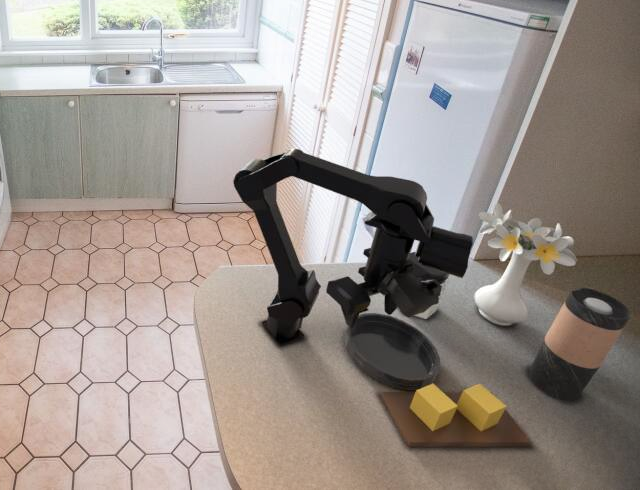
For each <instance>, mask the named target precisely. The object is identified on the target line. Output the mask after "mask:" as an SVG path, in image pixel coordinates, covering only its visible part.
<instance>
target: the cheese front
mask: <svg viewBox="0 0 640 490" xmlns="http://www.w3.org/2000/svg"><path fill="white" fill-rule="evenodd" d="M462 392H463V393H462V395H461V397H460V399H459V401H458V403H457V406H458V407H457V410H458V411H459V412H461V413H462V414H463V415H464V416H465V417H466V418H467V419H468V420H469V421H470V422H471V423H472V424H473V425H475V426H476V427H477V428H478V429H479V430H480V431H483V430H485V429H487V428H489V427H492V426H494V425H496V424H497V423H498V422H499V420H500V418H501V416H502V414H503V412H504V410H507V409H506V408H507V405H506V404H505V403H504V402H502V401H501V400H500V399H499V398H498V397H496V396H495V395H494V394H493V393H492V394H491V393H490V392H491V391H489V390H488V389H487V388H486V387H484V386H483V385H482V384H481V383H478V384H476V385H473V386H471V387H469V388H466V389H464V390H463V391H462Z"/></svg>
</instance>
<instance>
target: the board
mask: <svg viewBox="0 0 640 490" xmlns="http://www.w3.org/2000/svg"><path fill="white" fill-rule="evenodd" d="M442 392H443V393H444V394H445V395H446V396H447V397H449V398H450V399H451V400H452V401H453V402H454V403H455V404H456V405H457V403H458V401H459V399H460V397H461V395H462V393H463V391H442ZM489 392H490V393H491V394H493V393H492V391H489ZM415 393H416V391H391V392H390V391H383V392H381V394H380V400H381V401H382V403H383V404H384V406H385V408H386V410H387V411H388V413H389V415H390V417H391V419H392V421H393V423H394V424H395V426H396V428H397V429H398V431H399V433H400V435H401V437H402V438H403V441H404V442H405V444H406V446H407V447H408V448H409V447H410V448H412V447H413V448H414V447H415V448H416V447H417V448H419V447H420V448H424V447H425V448H426V447H427V448H430V447H432V448H435V447H437V448H442V447H444V448H445V447H448V448H450V447H461V448H463V447H467V448H469V447H470V448H471V447H476V448H478V447H482V448H483V447H486V448H487V447H491V448H492V447H496V448H497V447H506V448H507V447H530V445H531V443H532V441H531V440H530V438H529V437H528V436H527V435H526V433H525V432H524V431H523V429H522V428H521V427H520V426H519V424H517V422H516V421H515V420H514V419H513V417H512V416H511V414H510V413H509V412H508V411H507V409H505V410H504V412H503V414H502V416H501V418H500V420H499V422H498V423H497V424H496V425H494V426H492V427H489V428H487V429H485V430H483V431H480V430H479V429H478V428H477V427H476V426H475V425H473V424H472V423H471V422H470V421H469V420H468V419H467V418H466V417H465V416H464V415H463V414H462V413H461V412H459V411H458V410H457V409H456V411H455V413H454V415H453V418H452V420H451V422H450V424H447V425H445V426H443V427H441V428H439V429H437V430H435V431H432V430H431V429H430V428H429V427H428V426H427V425H426V424H425V423H424V422H423V421H422V420H421V419H420V418H419V417H418V416H417V415H416V414H415V413H414V412H413V411H412V410H411V409H410V405H411V403H412V400H413V398H414V395H415Z"/></svg>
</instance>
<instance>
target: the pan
mask: <svg viewBox="0 0 640 490" xmlns="http://www.w3.org/2000/svg"><path fill="white" fill-rule="evenodd" d="M343 341H344V346H345V350H346V352H347V354H348V356H349V358H350V359H351V361H352V362H353V363H354V364H355V365H356V366H357V367H358V368H359V369H360V370H361V371H362V372H363V373H364V374H366V375H367V376H368V377H370V378H371V379H373V380H375V381H377V382H378V383H380V384H382V385H384V386H387V387H389V388H393V389H397V390H404V391H416V390H419V389H421V388H424V387H426V386H428V385H431V384H433V383H434V381H435V380H436V378H437V376H438V374H439V372H440V368H441V358H440V355H439V352H438V350H437V347H436V346H435V345H434V344H433V343H432V341H431V340H430V339H429V338H428V336H427V335H425V334H424V333H423V332H422V331H421V330H419V329H418V328H417V327H415V326H413V325H412V324H410V323H408V322H406V321H405V320H403V319H400V318H397V317H395V316H392V315H388V314H382V313H377V312H364V313H360V314H359V316H358V318H357V320H356V323H355V325H354V326H353V328H350V327H349V326H348V325H347V327H346V331H345V334H344V338H343Z"/></svg>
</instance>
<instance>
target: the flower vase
mask: <svg viewBox="0 0 640 490" xmlns="http://www.w3.org/2000/svg"><path fill="white" fill-rule="evenodd" d="M492 212H493V214H492V213H490V212H487V211H480V212H479V213H478V218H479V219H480V220H482V221H483V222H485V223H487V224H484V225H483V226H482V227H481V229H480V231H479V233H480V235H482V236H483V235H490V234H496V235H498V236H499V237H495V238H491V239H489V240H488V241H487V245H488V247H490V248H492V249H501V250H500V252H499V254H498V255H499V260H500V262H505V261H506V260H508V258H509V257H510V255H511V254H512V255H511V258H510V261H509V262H508V265H507V267H506V268H505V270H504V272H503V274H502V276H501V277H500V278H499V280H497V281H496V282H494V283H493V284H487V285H484V286H481V287H480V288H478V289H477V290H476V291H475V292H474V296H473V298H474V302H475V304H476V306H477V308H478V311H479V314H480V315H481V316H482V317H483V318H484V319H486V320H487V321H489V322H491V323H493V324H495V325H497V326H501V327H502V326H503V327H509V326H511V325H513V324H519V323H522V322H524V321H525V320H526V319H527V318H528V316H529V307H528V304H527V302H526V300H525V299H524V298H523V296H522V292H521V288H522V284H523V280H524V278H525V276H526V273H527V270H528V269H529V266H530V264H531V263H532V262H533V261H540V268H541V271H542V272H543V273H544V274H545V275H547V276H550V275H552V274H553V273H554V271H555V267H556V265H555V263H557V264H559V265H562V266H566V267H573V266H575V265H576V264H577V263H578V261H579V260H578V258H577V256H576V255H575V254H574V252H573V251H571V250H570V249H569V248H572V247H573V246H574V244H575V240H574V238H573V237H572V236H568V235H566V236H563V229H562V226H561V224H560V223H559V222H558V223H557V224H556V226H555V228H553V227H548V226H547V227H546V226H542V224H543V222H542V221H543V220H542V219H540V218H537V217H535V218H532V219H530V220H529V221H528V223H525V222H523V221H519V220H516V219H512V218H513V215H512V214H511V213H512V209H510V210H508V211H507V212H506V213H505V214H504V213H503V207H502V205H501V203H500V202H497V203H496V204H494V205H493V210H492ZM550 233H552V236H548V235H549V234H550ZM525 239H527V240H525Z"/></svg>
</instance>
